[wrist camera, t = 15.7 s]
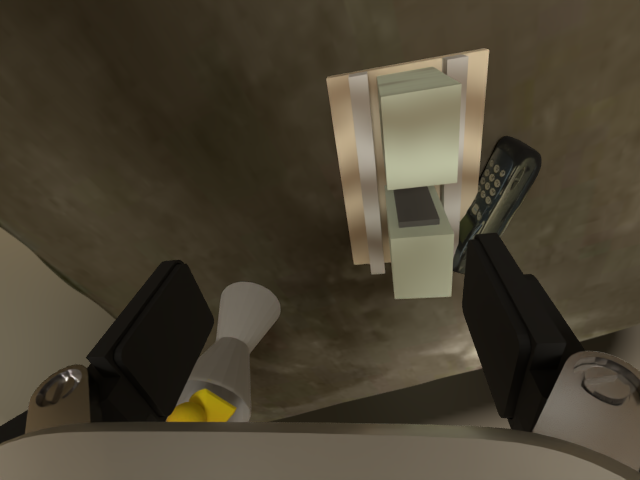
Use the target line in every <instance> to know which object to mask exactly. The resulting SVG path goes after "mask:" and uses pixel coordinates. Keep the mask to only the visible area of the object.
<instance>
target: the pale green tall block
mask: <svg viewBox="0 0 640 480" xmlns="http://www.w3.org/2000/svg"><path fill="white" fill-rule="evenodd" d="M385 196H386V210H387V223H388V236H389V246H390V256H391V266H392V276H393V286H394V296H395V299H409V298H431V297H451V292H452V271H453V249H454V232H453V230H452V227H451V225H450V223H449V220H448V218H447V216H446V213H445V211H444V208H443V206H442V204H441V201H440V199H439V196H438V194H437V192H436V189H435V187H434V185H432V186H423V187H414V188H405V189H395V190H387V185H385Z"/></svg>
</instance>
